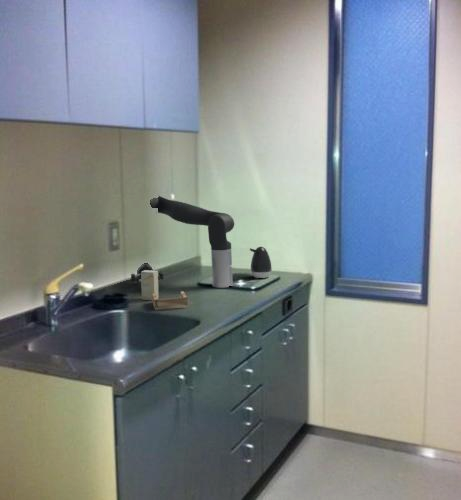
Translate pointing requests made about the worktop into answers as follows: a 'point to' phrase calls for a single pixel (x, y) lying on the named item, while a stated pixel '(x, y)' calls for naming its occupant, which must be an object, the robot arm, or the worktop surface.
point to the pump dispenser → (260, 263)
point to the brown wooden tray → (170, 302)
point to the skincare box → (149, 284)
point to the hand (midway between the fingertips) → (148, 279)
